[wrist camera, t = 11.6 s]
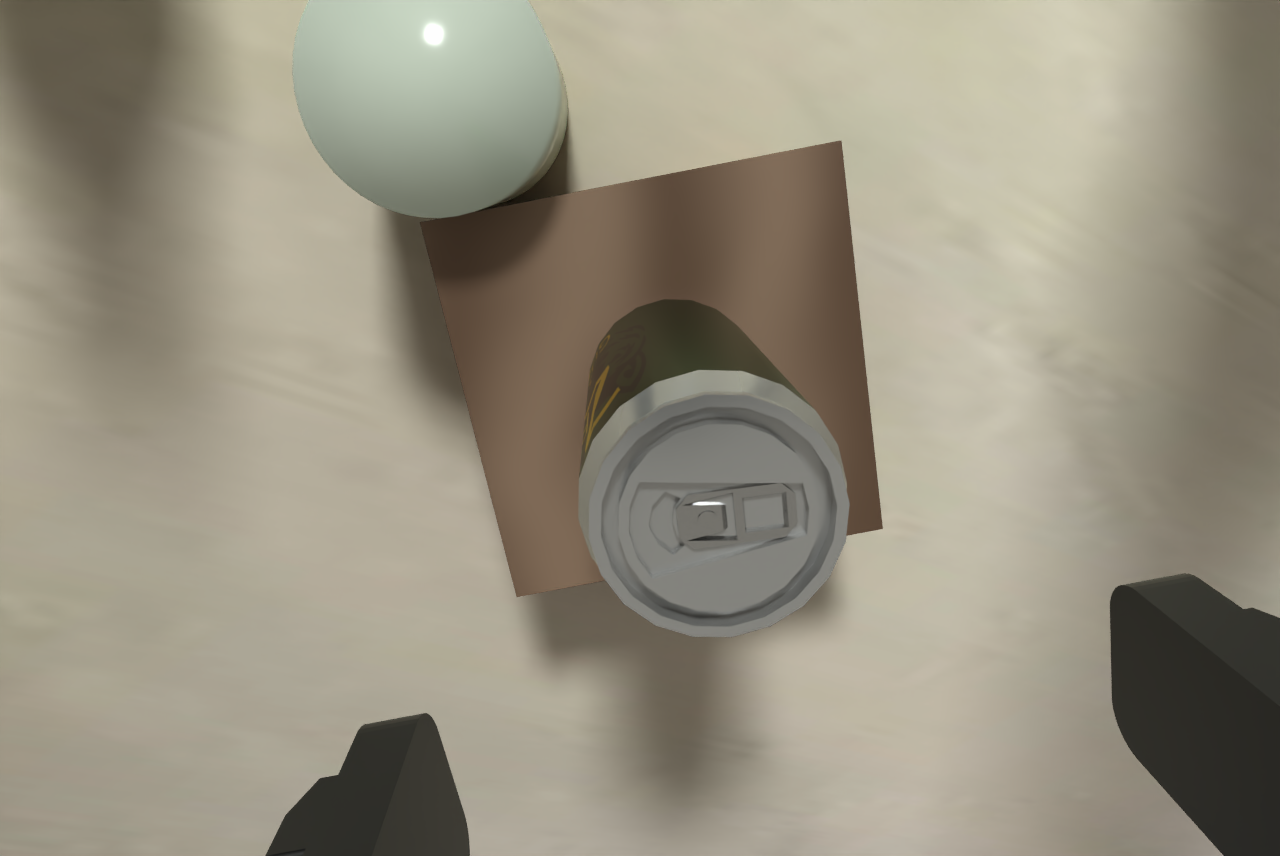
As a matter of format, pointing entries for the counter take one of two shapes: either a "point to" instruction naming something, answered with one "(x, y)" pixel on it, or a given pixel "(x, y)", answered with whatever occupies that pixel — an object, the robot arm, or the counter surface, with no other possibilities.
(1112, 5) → the counter surface
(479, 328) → the podium
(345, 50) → the pale green capsule
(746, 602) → the beer can
